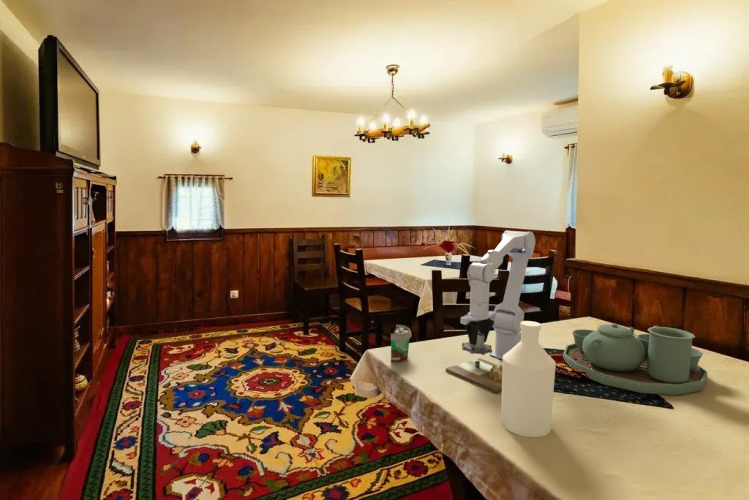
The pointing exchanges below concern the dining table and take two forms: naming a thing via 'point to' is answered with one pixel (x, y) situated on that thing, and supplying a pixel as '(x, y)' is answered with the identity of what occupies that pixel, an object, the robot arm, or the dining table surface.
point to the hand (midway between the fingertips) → (477, 343)
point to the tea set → (638, 359)
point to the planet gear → (477, 346)
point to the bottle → (527, 385)
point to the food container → (400, 343)
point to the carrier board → (480, 374)
